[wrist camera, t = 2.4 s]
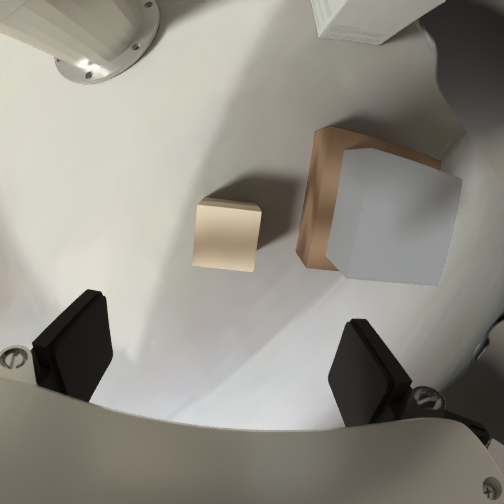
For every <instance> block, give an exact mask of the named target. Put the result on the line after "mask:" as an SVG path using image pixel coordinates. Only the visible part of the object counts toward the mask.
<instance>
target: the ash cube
mask: <svg viewBox="0 0 504 504" xmlns="http://www.w3.org/2000/svg"><path fill="white" fill-rule="evenodd" d="M261 214H262V211H261V210H260V208H259V206H258V204H257V203H250V202H242V201H234V200H225V199H216V198H206V197H204V198H203V199H202V200H201V201H200V203H199V204H198V205H197V215H196V226H195V238H194V252H193V266H202V267H211V268H220V269H229V270H238V271H248V272H253V270H254V263H255V256H256V249H257V242H258V235H259V228H260V221H261Z"/></svg>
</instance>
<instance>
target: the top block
mask: <svg viewBox="0 0 504 504" xmlns="http://www.w3.org/2000/svg"><path fill="white" fill-rule="evenodd" d="M461 186H462V179H460V178H457V177H455V176H452V175H450V174H447V173H445V172H442V171H440V170H437V169H434V168H432V167H429V166H426V165H423V164H421V163H418V162H415V161H412V160H409V159H406V158H403V157H400V156H397V155H393V154H390V153H387V152H383V151H380V150H377V149H373V148H364V149H352V150H344V154H343V161H342V168H341V174H340V180H339V187H338V193H337V198H336V204H335V210H334V215H333V220H332V226H331V231H330V236H329V241H328V246H327V251H326V255H325V256H326V257H327V258H328V259H329V260H330V261H331V262H332V264H333V265H334V266H335V267H336V268H337V269H338V270H339V271H340V272H341V273H342V274H343V276H344V277H345V278H348V279H359V280H370V281H382V282H393V283H406V284H418V285H431V286H438V283H439V280H440V276H441V273H442V270H443V267H444V263H445V260H446V256H447V252H448V249H449V245H450V241H451V237H452V233H453V228H454V224H455V219H456V214H457V209H458V204H459V198H460V192H461Z"/></svg>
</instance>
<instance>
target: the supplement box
mask: <svg viewBox="0 0 504 504" xmlns="http://www.w3.org/2000/svg"><path fill="white" fill-rule="evenodd" d="M444 2H445V0H311V4H312V9H313V13H314V18H315V23H316V27H317V32H318V37H319V38H329V39H339V40H347V41H354V42H361V43H368V44H373V45H381V44H382V43H383V42H385V41H386V40H387V39H389V38H390V37H392V36H393V35H395V34H396V33H397V32H399V31H400V30H402V29H403V28H405V27H406V26H408V25H409V24H411V23H412V22H414V21H415V20H417V19H418V18H419V17H421V16H423V15H424V14H426V13H427V12H429V11H430V10H432V9H434V8H435V7H437V6H438V5H440V4H442V3H444Z"/></svg>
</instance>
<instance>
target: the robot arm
mask: <svg viewBox="0 0 504 504" xmlns="http://www.w3.org/2000/svg"><path fill="white" fill-rule="evenodd" d="M159 22H160V11H159V8H158V5H157V3H156V1H155V0H0V33H3V34H5V35H8V36H10V37H13V38H15V39H17V40H20V41H22V42H24V43H26V44H29V45H31V46H33V47H35V48H37V49H40V50H42V51H44V52H46V53H48V54H50V55H52V56H54V60H55V65H56V67H57V70H58V72H59V73H60V74H61V75H62V76H63V77H64V78H66V79H68V80H69V81H72V82H75V83H79V84H94V83H98V82H102V81H105V80H107V79H110V78H112V77H114V76H116V75H118V74H119V73H121V72H123V71H124V70H126V69H127V68H128V67H130V66H131V65H132V64H133V63H134V62H136V61H137V60H138V59H139V58H140V57H141V56H142V55H143V53H144V52H145V51H146V50H147V48H148V47H149V46H150V44H151V42H152V41H153V39H154V37H155V35H156V32H157V30H158V27H159ZM138 48H139V49H138ZM137 49H138V50H137ZM32 345H33V348H32V349H31V350H29V349H28V348H26V347H24V346H20V345H13V346H9V347H7V348H5V349H3V350H2V351H1V352H0V504H504V445H502V444H500V443H499V442H497V441H496V440H494V439H492V440H491V441H489V434H488V431H487V430H486V428H485V427H484V425H482V424H481V423H478V422H476V421H473V420H470V419H468V418H465V417H462V416H460V415H457V414H454V413H452V412H449V411H447V410H445V400H444V398H443V396H442V395H441V394H440V393H439V392H438V391H437V390H435V389H433V388H431V387H427V386H419V387H415V388H414V389H412V388H411V387H410V385H411V383H412V380H411V378H410V377H409V376H408V374H407V373H406V372H405V370H404V369H403V367H402V366H401V365H400V363H399V362H398V361H397V359H396V358H395V357H394V355H393V354H392V353H391V351H390V350H389V348H388V347H387V346H386V345H385V343H384V342H383V341H382V339H381V338H380V337H379V335H378V334H377V333H376V331H375V330H374V329H373V327H372V326H371V325H370V324H369V322H368V321H367V320H366V319H351V320H350V322H347V323H346V325H345V328H344V331H343V334H342V337H341V340H340V343H339V346H338V349H337V352H336V355H335V358H334V361H333V364H332V366H331V369H330V372H329V375H328V382H329V385H330V387H331V390H332V392H333V395H334V398H335V400H336V403H337V405H338V408H339V411H340V413H341V416H342V418H343V421H344V424H345V426H346V427H341V428H329V429H313V430H248V429H231V428H219V427H209V426H200V425H192V424H185V423H178V422H172V421H166V420H160V419H154V418H149V417H144V416H140V415H135V414H131V413H126V412H122V411H118V410H114V409H110V408H107V407H103V406H99V405H96V404H93V403H89V400H90V398H91V396H92V395H93V393H94V391H95V389H96V387H97V385H98V384H99V382H100V380H101V378H102V376H103V375H104V373H105V371H106V369H107V368H108V366H109V364H110V362H111V360H112V357H113V350H112V343H111V336H110V329H109V321H108V312H107V301H106V297H105V296H103V294H102V292H101V291H95V290H90V289H87V290H86V291H85V292H84V293H83V294H81V295H80V296H79V297H78V298H77V299H76V300H75V301H74V302H73V303H72V304H71V305H70V306H69V307H68V308H67V309H65V310H64V311H63V312H62V313H61V314H60V315H59V316H58V317H57V318H56V319H55V320H54V321H53V322H52V323H51V324H50V325H49V326H48V327H47V328H46V329H45V330H44V331H43V332H42V333H41V334H40V335H39V336H38V337H37V338H36V339H35V340H34V341H33V342H32Z"/></svg>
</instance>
